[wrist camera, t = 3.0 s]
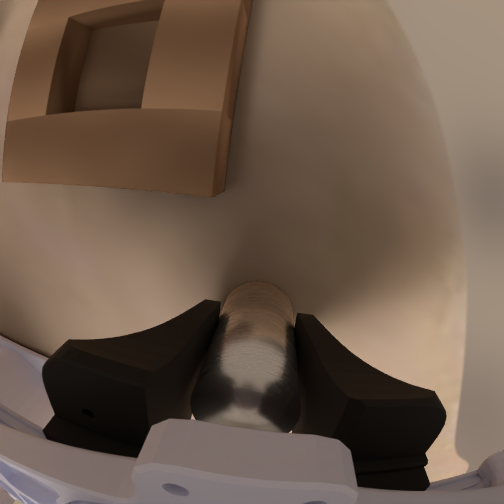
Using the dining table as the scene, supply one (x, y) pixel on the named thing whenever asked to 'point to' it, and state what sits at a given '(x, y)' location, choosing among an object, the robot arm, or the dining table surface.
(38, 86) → the hole block
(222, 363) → the pin
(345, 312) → the dining table surface
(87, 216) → the dining table surface
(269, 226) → the dining table surface
